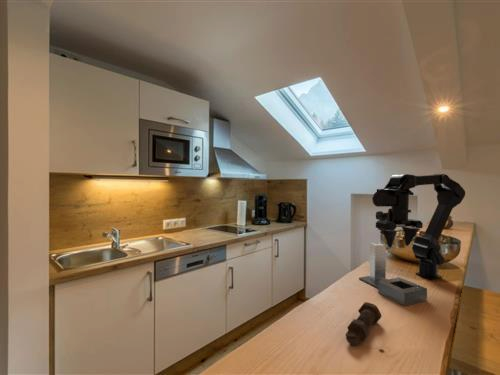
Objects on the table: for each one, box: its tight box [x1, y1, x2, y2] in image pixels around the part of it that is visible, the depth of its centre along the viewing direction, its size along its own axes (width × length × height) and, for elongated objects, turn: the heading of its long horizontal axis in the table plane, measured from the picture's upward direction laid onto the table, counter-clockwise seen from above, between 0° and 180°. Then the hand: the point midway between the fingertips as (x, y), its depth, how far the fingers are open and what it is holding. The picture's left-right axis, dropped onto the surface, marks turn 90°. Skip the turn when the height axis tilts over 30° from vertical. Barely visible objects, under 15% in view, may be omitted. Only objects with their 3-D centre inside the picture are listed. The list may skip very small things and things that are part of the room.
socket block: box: [377, 276, 428, 307], centre depth 84 cm, size 10×10×4 cm
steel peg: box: [369, 242, 387, 283], centre depth 96 cm, size 4×4×14 cm
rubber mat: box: [358, 275, 388, 289], centre depth 96 cm, size 9×9×1 cm
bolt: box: [345, 301, 382, 346], centre depth 65 cm, size 6×5×15 cm
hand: (398, 246), depth 98 cm, fingers open, 9 cm apart
